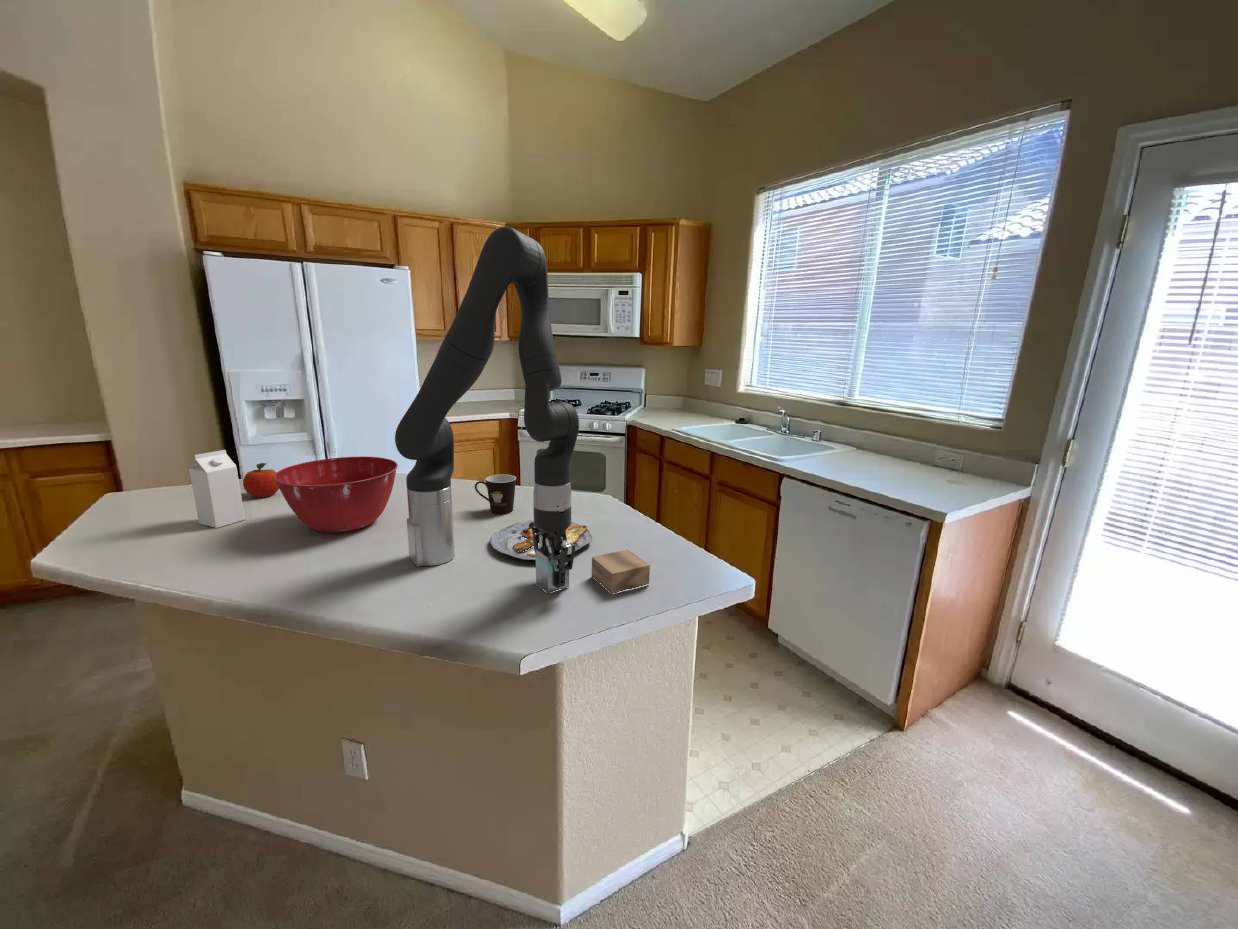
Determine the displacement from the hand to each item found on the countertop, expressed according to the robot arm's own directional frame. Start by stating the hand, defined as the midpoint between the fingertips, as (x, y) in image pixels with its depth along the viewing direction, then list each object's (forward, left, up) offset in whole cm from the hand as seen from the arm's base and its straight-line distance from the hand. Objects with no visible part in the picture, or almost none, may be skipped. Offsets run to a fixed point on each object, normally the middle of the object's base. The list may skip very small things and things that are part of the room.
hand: (552, 580), depth 104 cm
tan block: (+13, -6, -2) cm, 14 cm away
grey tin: (0, 0, -1) cm, 1 cm away
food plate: (+9, +21, -2) cm, 23 cm away
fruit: (-45, +100, -1) cm, 110 cm away
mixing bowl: (-29, +61, -1) cm, 68 cm away
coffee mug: (+10, +50, -1) cm, 51 cm away
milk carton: (-55, +79, -1) cm, 96 cm away
